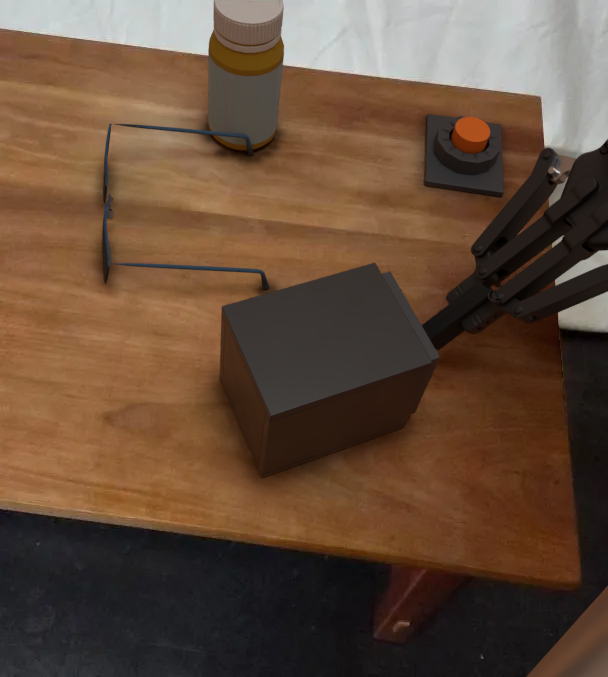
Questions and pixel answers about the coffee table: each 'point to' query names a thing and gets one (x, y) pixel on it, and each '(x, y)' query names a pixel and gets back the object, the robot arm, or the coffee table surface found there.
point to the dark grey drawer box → (319, 367)
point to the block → (462, 160)
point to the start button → (470, 135)
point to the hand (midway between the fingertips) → (427, 340)
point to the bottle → (245, 70)
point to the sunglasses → (110, 213)
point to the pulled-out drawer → (418, 330)
